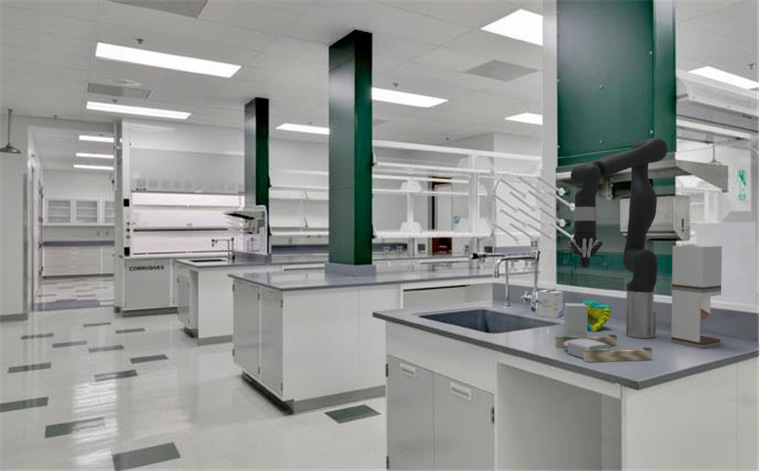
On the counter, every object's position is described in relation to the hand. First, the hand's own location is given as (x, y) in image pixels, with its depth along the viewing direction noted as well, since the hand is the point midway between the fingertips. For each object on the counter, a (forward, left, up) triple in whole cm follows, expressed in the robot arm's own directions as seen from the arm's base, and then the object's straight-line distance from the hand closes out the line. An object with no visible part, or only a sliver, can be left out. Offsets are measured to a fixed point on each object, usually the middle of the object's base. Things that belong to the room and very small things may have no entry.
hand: (584, 267), depth 182 cm
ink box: (-12, -51, -27) cm, 59 cm away
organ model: (-16, -22, -27) cm, 39 cm away
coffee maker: (-38, +8, -27) cm, 47 cm away
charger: (+10, +16, -28) cm, 33 cm away
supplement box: (0, -6, -27) cm, 28 cm away
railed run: (+3, +16, -27) cm, 32 cm away
